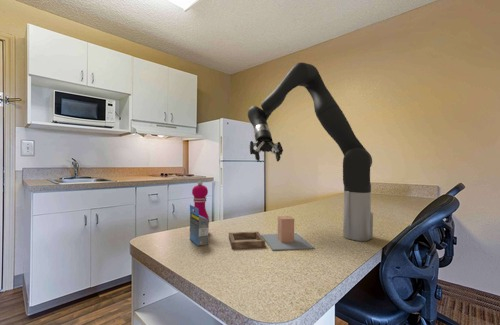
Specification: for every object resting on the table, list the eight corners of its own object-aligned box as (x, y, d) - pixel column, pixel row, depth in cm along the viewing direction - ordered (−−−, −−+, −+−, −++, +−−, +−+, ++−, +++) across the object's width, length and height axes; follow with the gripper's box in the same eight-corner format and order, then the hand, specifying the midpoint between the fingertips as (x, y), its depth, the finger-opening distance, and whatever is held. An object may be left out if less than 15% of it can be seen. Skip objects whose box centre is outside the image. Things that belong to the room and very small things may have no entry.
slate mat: (296, 234, 95) (296, 233, 95) (314, 248, 79) (314, 247, 79) (261, 235, 92) (261, 234, 92) (272, 250, 77) (272, 249, 77)
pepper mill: (212, 231, 96) (213, 181, 96) (199, 236, 90) (200, 182, 90) (199, 228, 100) (199, 180, 100) (185, 233, 94) (186, 181, 94)
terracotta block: (289, 238, 88) (289, 215, 88) (294, 242, 84) (294, 218, 84) (277, 238, 88) (277, 216, 88) (281, 242, 83) (281, 219, 83)
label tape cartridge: (209, 244, 82) (209, 207, 82) (197, 246, 80) (198, 208, 79) (199, 237, 89) (199, 203, 89) (188, 239, 87) (189, 204, 87)
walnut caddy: (258, 236, 91) (258, 231, 91) (265, 247, 80) (265, 241, 80) (228, 238, 89) (228, 232, 89) (231, 248, 78) (231, 242, 78)
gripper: (248, 128, 110) (253, 153, 99) (279, 129, 113) (287, 153, 101) (246, 141, 115) (250, 165, 104) (275, 141, 118) (282, 166, 107)
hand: (268, 159), depth 103 cm, fingers open, 8 cm apart
